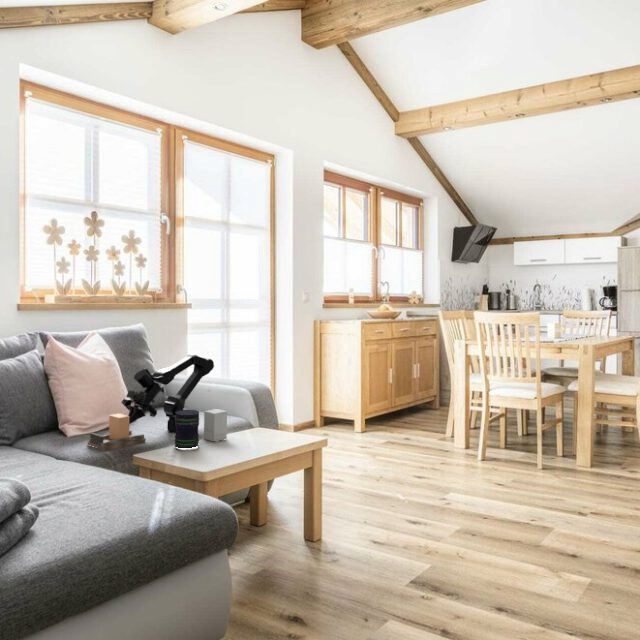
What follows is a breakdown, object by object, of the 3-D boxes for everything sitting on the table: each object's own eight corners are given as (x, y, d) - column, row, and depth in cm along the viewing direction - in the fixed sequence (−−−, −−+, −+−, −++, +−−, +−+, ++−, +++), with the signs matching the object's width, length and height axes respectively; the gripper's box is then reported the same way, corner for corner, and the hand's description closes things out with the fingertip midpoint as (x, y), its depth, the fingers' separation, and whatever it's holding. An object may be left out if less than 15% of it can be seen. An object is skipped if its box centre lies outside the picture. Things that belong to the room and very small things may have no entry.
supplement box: (227, 439, 285) (227, 411, 284) (213, 442, 280) (214, 413, 279) (216, 436, 290) (217, 408, 289) (203, 439, 285) (203, 410, 284)
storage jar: (169, 448, 268) (170, 413, 267) (183, 443, 277) (183, 408, 276) (190, 451, 265) (191, 415, 263) (203, 446, 274) (204, 411, 272)
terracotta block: (119, 436, 278) (119, 413, 277) (129, 439, 273) (129, 416, 273) (109, 438, 274) (109, 415, 273) (118, 441, 270) (119, 418, 269)
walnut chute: (128, 436, 285) (128, 424, 284) (145, 441, 277) (145, 429, 277) (87, 445, 269) (87, 432, 269) (104, 451, 262) (104, 437, 261)
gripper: (125, 380, 285) (102, 408, 277) (151, 386, 273) (128, 415, 266) (140, 395, 292) (118, 423, 284) (166, 402, 280) (144, 431, 272)
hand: (127, 423), depth 276 cm, fingers closed
